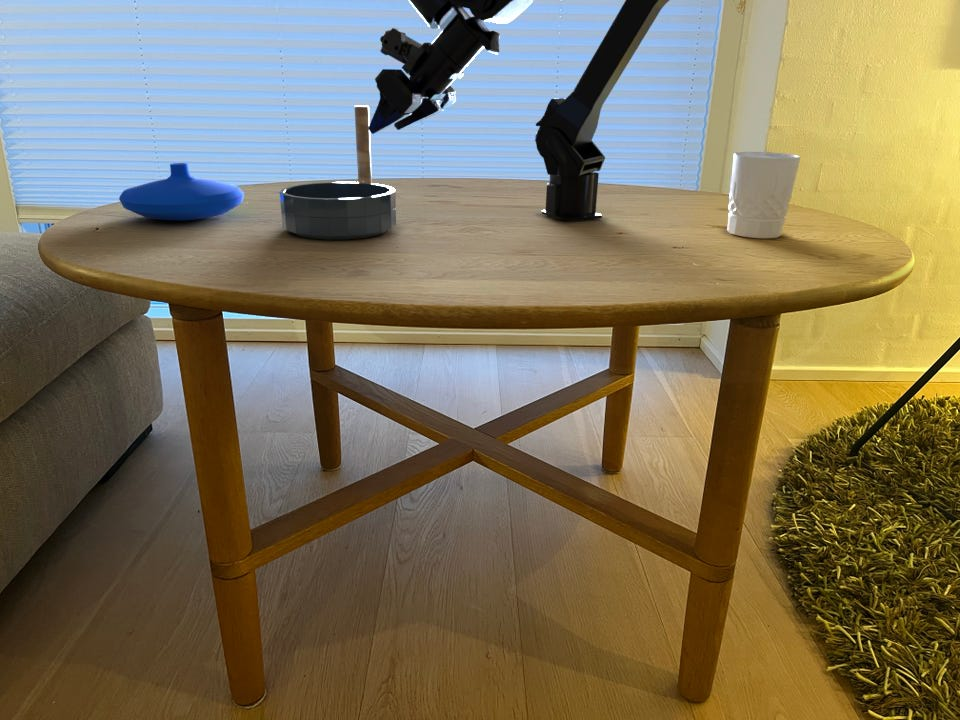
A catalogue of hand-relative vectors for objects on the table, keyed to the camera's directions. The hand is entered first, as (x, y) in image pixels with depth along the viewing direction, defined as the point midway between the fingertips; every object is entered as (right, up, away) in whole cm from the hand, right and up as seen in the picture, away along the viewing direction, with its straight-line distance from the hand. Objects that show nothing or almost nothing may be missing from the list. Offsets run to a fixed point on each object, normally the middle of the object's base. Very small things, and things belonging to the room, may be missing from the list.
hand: (383, 129), depth 108 cm
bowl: (-3, -19, -19) cm, 27 cm away
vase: (-25, -16, -13) cm, 33 cm away
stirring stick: (-4, -9, +5) cm, 11 cm away
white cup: (+51, -19, -17) cm, 57 cm away
